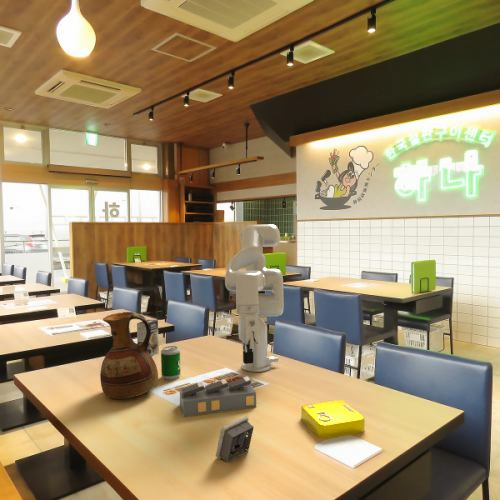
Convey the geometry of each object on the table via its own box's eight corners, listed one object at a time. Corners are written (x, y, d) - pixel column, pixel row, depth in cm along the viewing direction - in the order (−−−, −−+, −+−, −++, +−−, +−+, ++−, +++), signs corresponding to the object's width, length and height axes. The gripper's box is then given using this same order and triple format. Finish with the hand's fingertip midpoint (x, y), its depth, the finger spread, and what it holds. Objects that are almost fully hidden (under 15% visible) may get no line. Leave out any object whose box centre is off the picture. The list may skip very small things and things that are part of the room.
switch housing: (247, 395, 151) (247, 380, 150) (256, 407, 141) (256, 390, 141) (179, 404, 144) (179, 388, 144) (184, 417, 134) (183, 400, 134)
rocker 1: (202, 385, 143) (201, 381, 143) (204, 389, 139) (203, 385, 139) (182, 392, 141) (181, 388, 141) (183, 396, 137) (182, 392, 137)
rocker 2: (225, 382, 145) (224, 378, 145) (228, 386, 141) (227, 382, 141) (206, 389, 143) (205, 385, 143) (208, 393, 139) (207, 389, 139)
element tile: (367, 433, 123) (367, 417, 123) (320, 441, 119) (319, 424, 118) (342, 411, 137) (342, 397, 137) (299, 418, 133) (298, 403, 133)
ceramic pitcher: (99, 388, 160) (96, 309, 158) (153, 380, 168) (150, 305, 166) (103, 408, 142) (100, 319, 140) (163, 398, 150) (161, 314, 148)
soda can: (176, 381, 166) (175, 351, 166) (158, 380, 168) (157, 350, 167) (183, 374, 174) (182, 345, 173) (166, 373, 175) (165, 345, 175)
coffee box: (149, 358, 197) (148, 323, 196) (137, 357, 199) (136, 323, 198) (159, 352, 206) (158, 319, 205) (147, 351, 208) (146, 319, 207)
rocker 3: (248, 379, 147) (247, 376, 147) (251, 383, 143) (250, 379, 143) (229, 386, 145) (228, 382, 145) (231, 390, 142) (230, 386, 141)
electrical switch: (240, 445, 116) (242, 413, 115) (254, 453, 113) (256, 420, 112) (215, 459, 110) (216, 425, 109) (228, 468, 106) (230, 433, 105)
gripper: (264, 311, 138) (265, 368, 138) (251, 305, 152) (252, 356, 152) (242, 313, 136) (243, 370, 136) (231, 306, 150) (232, 358, 150)
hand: (248, 362), depth 144 cm, fingers closed
